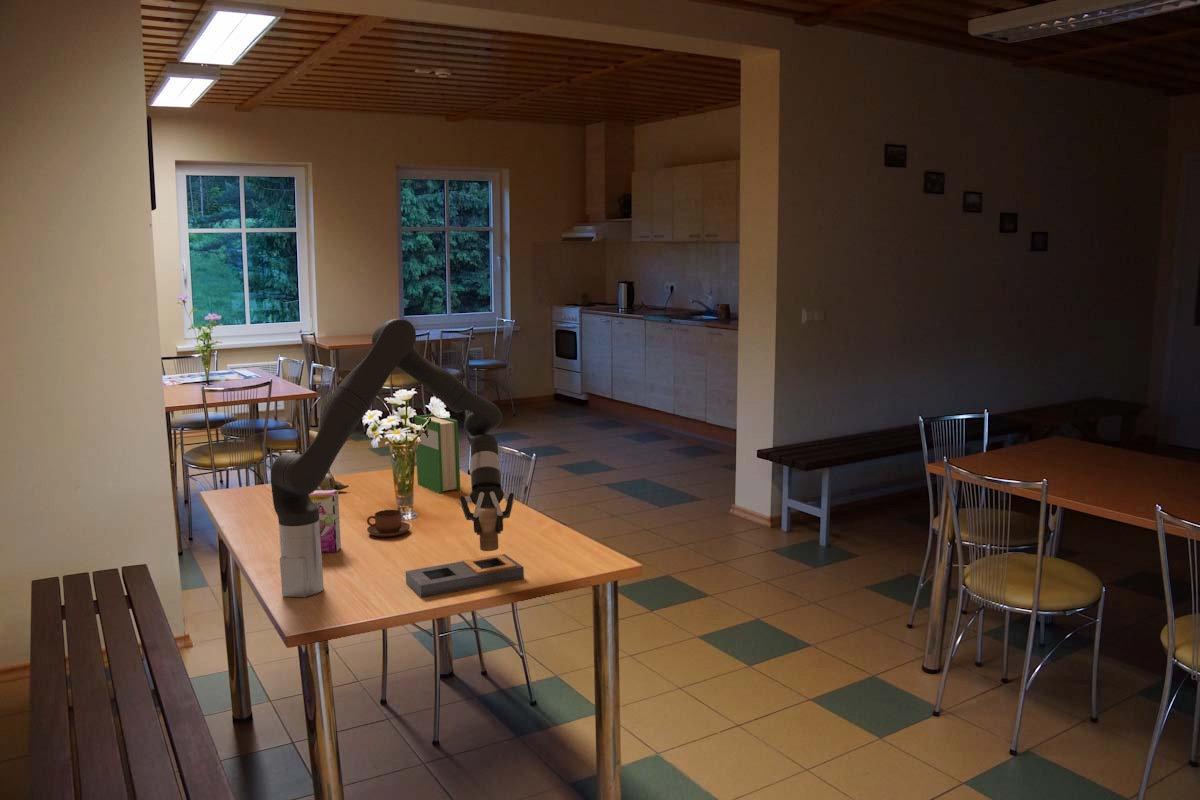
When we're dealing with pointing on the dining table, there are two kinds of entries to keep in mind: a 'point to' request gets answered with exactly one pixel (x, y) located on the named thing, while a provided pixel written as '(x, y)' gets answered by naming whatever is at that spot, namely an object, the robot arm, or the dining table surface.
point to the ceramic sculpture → (331, 484)
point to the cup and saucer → (387, 524)
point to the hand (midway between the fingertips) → (488, 532)
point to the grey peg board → (464, 575)
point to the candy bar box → (328, 519)
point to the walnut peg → (488, 528)
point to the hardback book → (438, 455)
